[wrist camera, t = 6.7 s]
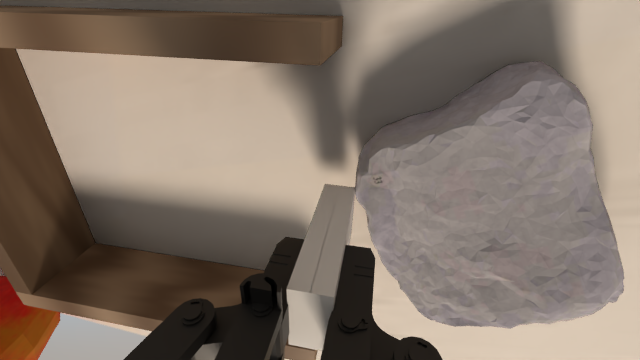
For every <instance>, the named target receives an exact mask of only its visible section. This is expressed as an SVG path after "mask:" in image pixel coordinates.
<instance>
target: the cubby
mask: <svg viewBox="0 0 640 360" xmlns="http://www.w3.org/2000/svg"><path fill="white" fill-rule="evenodd" d="M342 29H343V16H324V15H292V14H259V13H227V12H194V11H162V10H130V9H97V8H65V7H32V6H0V267H1V269H2V271H3V272H4V274H5V275H6V277H7V279H8V280H9V282H10V283H11V285H12V287H13V288H14V290H15V291H16V293H17V295H18V296H19V298H20V299H21V301H22V303H23V304H24V305H27V306H32V307H37V308H42V309H47V310H52V311H57V312H62V313H66V314H71V315H76V316H81V317H86V318H91V319H96V320H100V321H105V322H110V323H115V324H120V325H125V326H130V327H134V328H139V329H144V330H149V331H153V330H154V329H155V328H156V327H157V326H159V325H160V324H161V323H162V322H163V321H164V320H165V319H166V318H167V317H168V316H169V315H170V314H171V313H172V312H173V311H174V310H175V309H176V308H177V307H178V306H180V305H181V304H182V303H184V302H186V301H189V300H191V299H197V298H202V299H207V300H209V301H210V302H211V303H213V305H214V308H218V307H227V306H234V305H238V304H240V303H242V300H241V293H240V286H239V285H240V284H241V283H242V282H243V281H244V279H246V278H248V277H249V276H251V275H254V274H258V273H264V271H263V270H257V269H251V268H245V267H238V266H232V265H226V264H220V263H214V262H208V261H202V260H195V259H189V258H183V257H177V256H171V255H165V254H159V253H153V252H146V251H140V250H134V249H128V248H122V247H116V246H110V245H103V244H97V243H95V242H94V239H93V237H92V234H91V232H90V230H89V227H88V225H87V222H86V220H85V217H84V215H83V213H82V210H81V208H80V205H79V203H78V200H77V198H76V196H75V193H74V191H73V188H72V186H71V183H70V181H69V179H68V176H67V174H66V171H65V169H64V166H63V164H62V162H61V159H60V157H59V154H58V152H57V150H56V147H55V145H54V142H53V140H52V137H51V135H50V133H49V130H48V128H47V125H46V123H45V120H44V118H43V116H42V113H41V111H40V108H39V106H38V103H37V101H36V99H35V96H34V94H33V91H32V89H31V86H30V84H29V82H28V79H27V77H26V74H25V72H24V69H23V67H22V65H21V62H20V60H19V57H18V55H17V52H16V50H15V49H33V50H51V51H69V52H87V53H105V54H123V55H141V56H159V57H177V58H194V59H212V60H230V61H248V62H266V63H284V64H302V65H321V64H322V63H324V62H325V61H326V60H327V59H328V58H329V57H330V56H331V55H332V54H334V53H335V52H336V51H337V50H338V49H339V48H340V47H341V46H342ZM316 355H317V350H314V349H309V348H304V347H299V346H294V345H289V341H288V339H287V342H286V346H285V356H284V358H285V359H290V360H316Z"/></svg>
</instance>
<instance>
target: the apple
mask: <svg viewBox="0 0 640 360" xmlns="http://www.w3.org/2000/svg"><path fill="white" fill-rule="evenodd" d="M59 321H60V312H57V311H52V310H47V309H42V308H37V307H32V306H27V305H24V304H23V303H22V301H21V299H20V298H19V296H18V295H17V293H16V291H15V290H14V288H13V287H12V285H11V283H10V282H9V280H8V279H7V277H6V276H0V360H38V358H39V356H40V355H41V353H42V351H43V349H44V348H45V346H46V344H47V342H48V340H49V339H50V337H51V335H52V333H53V331H54V329H55V328H56V326H57V325H58V323H59Z"/></svg>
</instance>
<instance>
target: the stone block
mask: <svg viewBox="0 0 640 360" xmlns="http://www.w3.org/2000/svg"><path fill="white" fill-rule="evenodd" d="M592 128H593V124H592V121H591V117H590V112H589V108H588V105H587V102H586V100H585V98H584V97H583V95H582V94H581V92H580V91H579V89H578V88H577V87H576V85H575V84H573V83H571V82H569V81H567V80H566V79H564V78H563V77H562V76H561V75H559V73H558V72H557V71H556V70H555V69H554V68H552V67H550V66H548V65H546V64H545V63H543V62H542V61H537V62H526V63H519V64H512V65H507V66H505V67H503V68H501V69H500V70H498V71H496V72H494V73H492V74H491V75H489V76H488V77H486V78H485V79H484V80H483V81H481V82H478V83H476V84H474V85H473V86H471V87H470V88H469V89H467V90H465V91H464V92H462V93H460V94H459V95H457V96H456V97H455V98H453V99H452V100H451V101H449V102H448V103H447V104H446V105H444V106H442V107H440V108H438V109H436V110H433V111H429V112H426V113H420V114H416V115H412V116H409V117H406V118H404V119H402V120H399V121H397V122H394V123H392V124H388V125H386V126H384V127H382V128H381V129H380V130H379V131H377V133H376V134H375V135H374V136H373V138H372V139H371V140H369V141H368V142H367V143H366V144H365V146H364V147H363V149H362V151H361V153H360V156H359V161H358V167H357V172H356V186H355V194H356V198H357V201H358V202H359V203H360V204H361V205H362V207H363V208H364V209H365V210H366V214H367V221H368V229H369V232H370V235H371V240H372V242H373V244H374V246H375V248H376V249H377V250H378V254H379V256H380V258H381V261H382V263H383V264H384V265H385V267H386V268H387V270H388V272H389V273H390V274H391V275H392V276H393V277H394V278H395V279H397V280H398V283H399V285H400V289H401V290H402V291H403V292H404V293H405V294H406V295H407V296H408V298H409V299H410V301H411V302H412V303H413V304H414V306H415V307H416V308H417V310H418V311H419V312H420V313H421V314H422V315H424V316H425V317H427V318H428V319H430V320H435V321H436V322H439V323H443V324H447V325H451V326H480V327H482V326H494V327H503V328H513V327H515V326H518V325H524V324H526V325H527V324H532V323H541V324H551V323H555V322H559V321H569V320H573V319H576V318H580V317H584V316H588V315H591V314H594V313H595V312H597V311H599V310H601V309H602V308H603V307H604V306H605V305H606V304H607V303H609V302H611V303H613V302H616V301H617V299H618V297H619V295H621V294H622V293H623V291H624V285H623V279H624V272H623V267H622V263H621V259H620V256H619V252H618V247H617V242H616V238H615V235H614V231H613V228H612V225H611V221H610V218H609V215H608V213H607V210H606V207H605V205H604V202H603V199H602V196H601V193H600V190H599V187H598V183H597V179H596V175H595V171H594V158H593V155H592V151H591V148H590V146H591V136H592Z"/></svg>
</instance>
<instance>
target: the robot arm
mask: <svg viewBox="0 0 640 360" xmlns="http://www.w3.org/2000/svg"><path fill="white" fill-rule="evenodd" d="M354 198H355V188H354V187H346V186H338V185H329V184H325V185H324V188H323V191H322V193H321V196H320V199H319V202H318V204H317V207H316V210H315V212H314V215H313V218H312V221H311V223H310V226H309V229H308V232H307V234H306V237H305V240H304V239H297V238H290V237H285V238H284V239H283V240H282V241H280V242H279V243H278V244H277V246H276V248H275V250H274V252H273V255H272V256H271V258H270V261H269V263H268V265H267V267H266V269H265V271H264V273H258V274H254V275H251V276H249V277H248V278H246V279H244V281H243V282H242V283H241V284H240V285H239V286H240V293H241V300H242V303H240V304H238V305H234V306H227V307H218V308H214V305H213V303H211V302H210V301H209V300H207V299H202V298H197V299H191V300H189V301H186V302H184V303H182V304H181V305H180V306H178V307H177V308H176V309H175V310H174V311H173V312H172V313H171V314H170V315H169V316H168V317H167V318H166V319H165V320H164V321H163V322H162V323H161V324H160V325H159V326H157V327H156V328H155V329H154V330H153V331H152V332H151V333H150V334H149V335H148V336H147V337H146V338H145V339H144V340H143V341H142V342H141V343H140V344H139V345H138V346H137V347H136V348H135V349H134V350H133V351H132V352H131V353H130V354H129V355H128V356H127V357H126V358H125V359H124V360H284V356H285V346H286V342H287V339H288V341H289V345H294V346H299V347H304V348H309V349H314V350H319V351H322V355H321V360H442V358H441V356H440V354H439V353H438V351H437V349H436V348H435V347H434V346H433V345H431V344H430V343H429V342H428V341H426V340H424V339H421V338H418V337H407V338H403V339H402V340H398V339H396V338H394V337H392V336H390V335H388V334H387V333H385V332H384V331H382V330H381V329H380V328H379V327H378V326H377V324H376V323H375V321H374V319H373V316H372V299H373V284H374V269H375V257H374V255H373V253H372V251H371V248H364V247H357V246H350V245H349V244H350V238H351V231H352V220H353V209H354Z"/></svg>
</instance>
